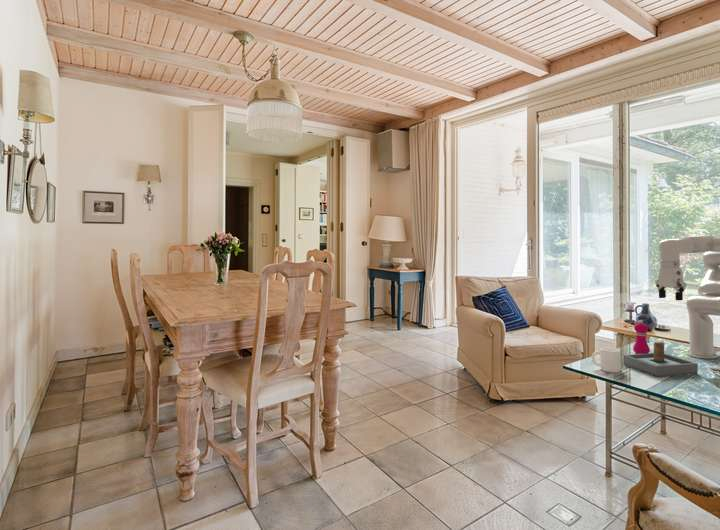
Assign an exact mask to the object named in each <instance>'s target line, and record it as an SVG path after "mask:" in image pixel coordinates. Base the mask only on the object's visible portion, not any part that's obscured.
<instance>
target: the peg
mask: <svg viewBox="0 0 720 530" xmlns="http://www.w3.org/2000/svg"><path fill="white" fill-rule="evenodd" d="M653 353H654V362H655V363H664V353H665V342H663V341H653Z"/></svg>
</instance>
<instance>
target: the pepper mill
mask: <svg viewBox="0 0 720 530" xmlns="http://www.w3.org/2000/svg"><path fill="white" fill-rule="evenodd" d="M633 327H634V328H633V329H634V331H635V337H636V339H635V342H634V344H633V348H632V349H633V351H634V354H645V353H651V348H650V347H649V344H648V342H647V336H648V331H649V327H648V325H647V324H646V323H644V321H643V320H642V319H640V320H639V321H638V323H635V324H634V325H633Z"/></svg>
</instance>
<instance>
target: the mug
mask: <svg viewBox="0 0 720 530" xmlns="http://www.w3.org/2000/svg"><path fill="white" fill-rule="evenodd" d="M597 355H600V357H599V359H600V362H598V361H596V356H597ZM591 361H592V362H593V364H594V365H595V366H597V367H598V366H599V367H600V369H602V370H601V371H603V372H605V371H606V373H610V372H611V373H613V374H614V373H620V372H621V370H622V369H621V366H622V365H621V364H622V363H621V362H622V361H621V349H620V348H616V347H608V346H607V347H605V346H604V347H600V348H599V350H596V351H594V352H593V353H592V354H591ZM611 373H610V374H611Z"/></svg>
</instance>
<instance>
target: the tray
mask: <svg viewBox="0 0 720 530" xmlns="http://www.w3.org/2000/svg"><path fill="white" fill-rule="evenodd" d="M623 366H625V367H628V368H631V369H633V370H636V371H638V370H639V372H641V373H643V372H644V374H646V373H647V374H646V375H648V374H649V376H651V375H652V376H651V377H653V378H656V377H657V378H667V376H670V377H678V376H677V375H683V376H689V375H688V374H696V375H699V374H698V373H699V372H698V363H696V362H694V361H690V360H687V359H684V358H680V357H677V356H674V355H671V354H668V353H665V352H664V363H655V362H654V352H649V353H645V354H635V353H634V354H633V353H632V354H623Z"/></svg>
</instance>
